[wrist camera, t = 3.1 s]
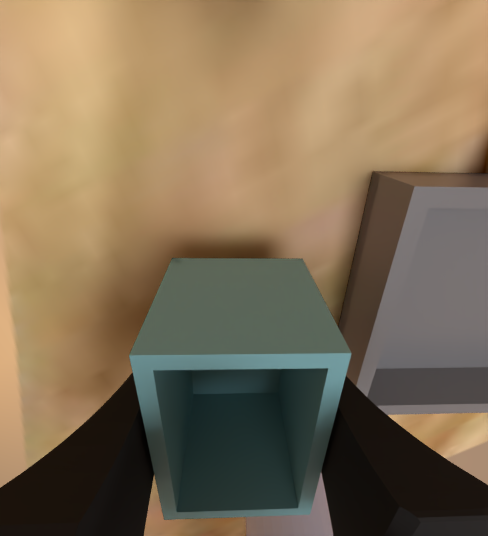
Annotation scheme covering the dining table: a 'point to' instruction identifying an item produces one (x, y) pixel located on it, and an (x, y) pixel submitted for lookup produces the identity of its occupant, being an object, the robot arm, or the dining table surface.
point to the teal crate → (238, 386)
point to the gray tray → (421, 294)
